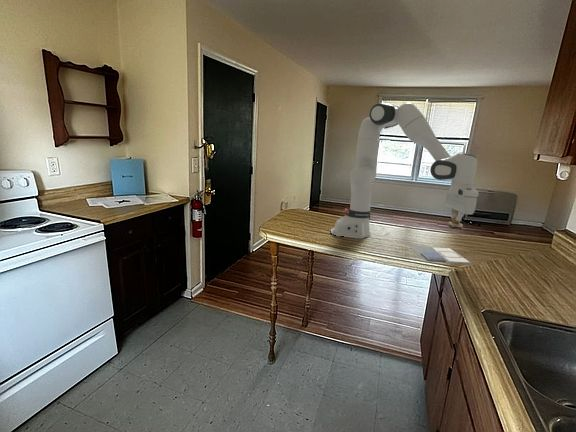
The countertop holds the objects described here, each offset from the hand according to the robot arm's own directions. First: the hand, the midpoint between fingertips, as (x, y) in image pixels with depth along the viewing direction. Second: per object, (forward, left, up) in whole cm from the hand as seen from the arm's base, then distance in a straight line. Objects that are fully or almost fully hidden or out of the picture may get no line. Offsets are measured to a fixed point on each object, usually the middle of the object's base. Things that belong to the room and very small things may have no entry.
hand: (455, 219), depth 143 cm
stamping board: (-5, 0, -18) cm, 19 cm away
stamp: (0, 0, -4) cm, 4 cm away
